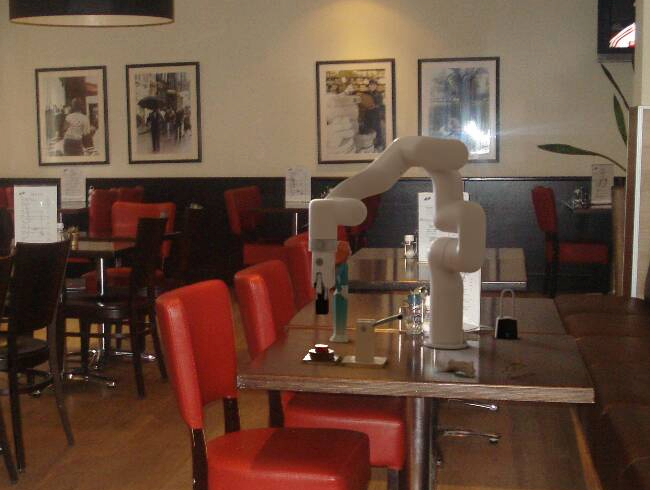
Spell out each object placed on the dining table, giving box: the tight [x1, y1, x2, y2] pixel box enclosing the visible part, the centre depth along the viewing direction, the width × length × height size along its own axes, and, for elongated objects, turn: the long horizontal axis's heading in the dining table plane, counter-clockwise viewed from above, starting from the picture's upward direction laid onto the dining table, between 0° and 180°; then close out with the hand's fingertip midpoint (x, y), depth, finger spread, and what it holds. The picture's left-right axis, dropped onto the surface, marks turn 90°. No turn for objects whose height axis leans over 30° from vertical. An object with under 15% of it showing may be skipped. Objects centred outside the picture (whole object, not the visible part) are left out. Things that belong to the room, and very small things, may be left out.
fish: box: [501, 356, 533, 378], centre depth 262 cm, size 12×2×5 cm, turn 126°
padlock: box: [494, 288, 520, 340], centre depth 316 cm, size 7×4×15 cm, turn 80°
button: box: [314, 344, 330, 352], centre depth 281 cm, size 4×4×2 cm
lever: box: [368, 311, 406, 327], centre depth 276 cm, size 12×5×2 cm, turn 74°
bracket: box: [341, 318, 388, 366], centre depth 277 cm, size 11×9×12 cm
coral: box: [434, 358, 477, 378], centre depth 265 cm, size 6×10×4 cm, turn 61°
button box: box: [302, 348, 342, 363], centre depth 281 cm, size 9×8×3 cm
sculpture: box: [328, 240, 353, 343], centre depth 311 cm, size 13×7×30 cm, turn 168°
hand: (322, 313), depth 280 cm, fingers closed
